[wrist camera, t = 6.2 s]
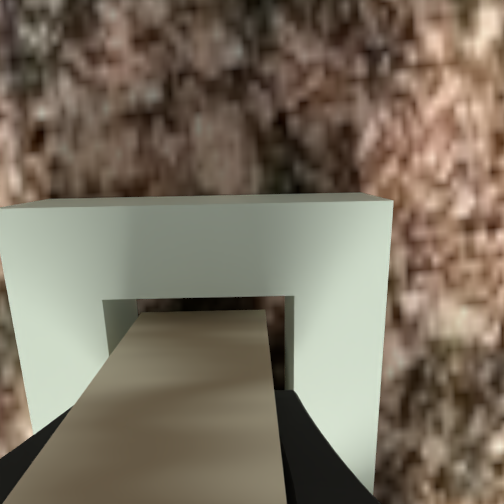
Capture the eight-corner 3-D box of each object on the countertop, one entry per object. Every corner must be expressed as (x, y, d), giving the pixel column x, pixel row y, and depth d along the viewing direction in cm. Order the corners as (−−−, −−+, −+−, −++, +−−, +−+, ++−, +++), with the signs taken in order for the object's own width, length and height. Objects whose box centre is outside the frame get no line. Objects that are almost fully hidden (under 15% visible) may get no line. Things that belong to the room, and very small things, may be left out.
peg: (264, 309, 12) (295, 584, 4) (266, 416, 13) (293, 807, 5) (141, 312, 12) (-62, 593, 4) (151, 419, 13) (1, 814, 5)
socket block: (361, 192, 13) (393, 200, 10) (348, 454, 16) (371, 522, 13) (50, 198, 13) (-8, 208, 10) (88, 460, 16) (50, 529, 13)
